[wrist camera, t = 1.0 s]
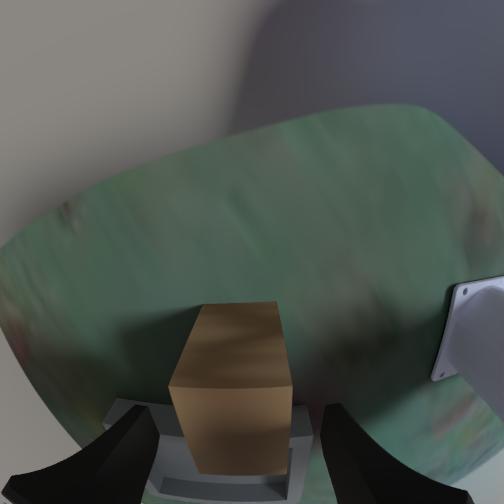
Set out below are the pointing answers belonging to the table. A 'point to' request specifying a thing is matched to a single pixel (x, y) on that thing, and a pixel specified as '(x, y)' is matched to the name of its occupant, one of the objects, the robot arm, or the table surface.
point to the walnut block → (235, 390)
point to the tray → (218, 486)
